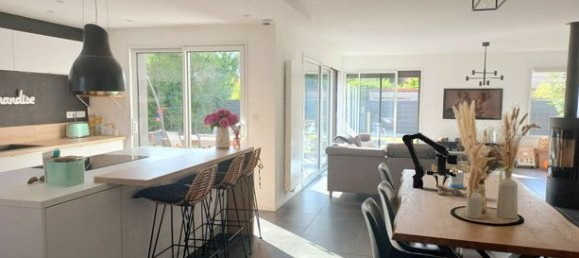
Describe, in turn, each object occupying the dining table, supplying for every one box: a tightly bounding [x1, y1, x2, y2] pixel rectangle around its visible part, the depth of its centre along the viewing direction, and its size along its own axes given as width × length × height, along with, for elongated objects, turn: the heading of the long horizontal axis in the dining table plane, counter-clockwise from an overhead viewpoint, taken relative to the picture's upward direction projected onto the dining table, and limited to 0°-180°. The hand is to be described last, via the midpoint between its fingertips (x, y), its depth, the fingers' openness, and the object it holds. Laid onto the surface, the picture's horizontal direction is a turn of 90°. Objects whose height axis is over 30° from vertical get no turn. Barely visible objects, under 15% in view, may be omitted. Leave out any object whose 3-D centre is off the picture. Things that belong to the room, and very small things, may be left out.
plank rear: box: [435, 183, 451, 192], centre depth 280 cm, size 9×7×1 cm
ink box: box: [447, 169, 465, 189], centre depth 292 cm, size 9×8×13 cm
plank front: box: [436, 189, 454, 197], centre depth 270 cm, size 9×7×1 cm
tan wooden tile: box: [449, 187, 464, 198], centre depth 273 cm, size 6×18×1 cm, turn 168°
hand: (440, 185), depth 281 cm, fingers open, 3 cm apart
